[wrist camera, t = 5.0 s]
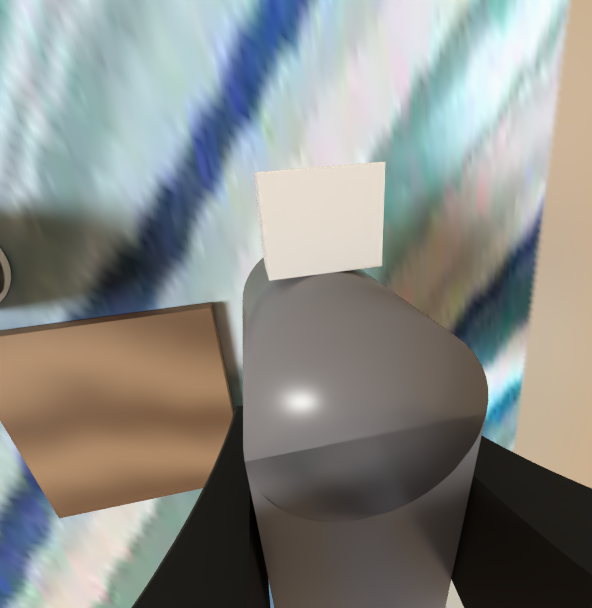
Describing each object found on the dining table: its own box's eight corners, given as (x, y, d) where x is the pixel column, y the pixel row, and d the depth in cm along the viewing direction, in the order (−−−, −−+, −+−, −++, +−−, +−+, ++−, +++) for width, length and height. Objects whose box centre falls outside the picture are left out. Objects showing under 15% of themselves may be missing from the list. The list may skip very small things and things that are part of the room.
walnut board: (245, 468, 21) (246, 479, 21) (65, 505, 20) (59, 518, 19) (211, 302, 16) (210, 307, 16) (-33, 335, 15) (-47, 342, 14)
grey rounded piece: (357, 472, 14) (433, 660, 8) (272, 491, 13) (294, 704, 8) (357, 168, 9) (543, 141, 3) (222, 179, 8) (184, 167, 3)
